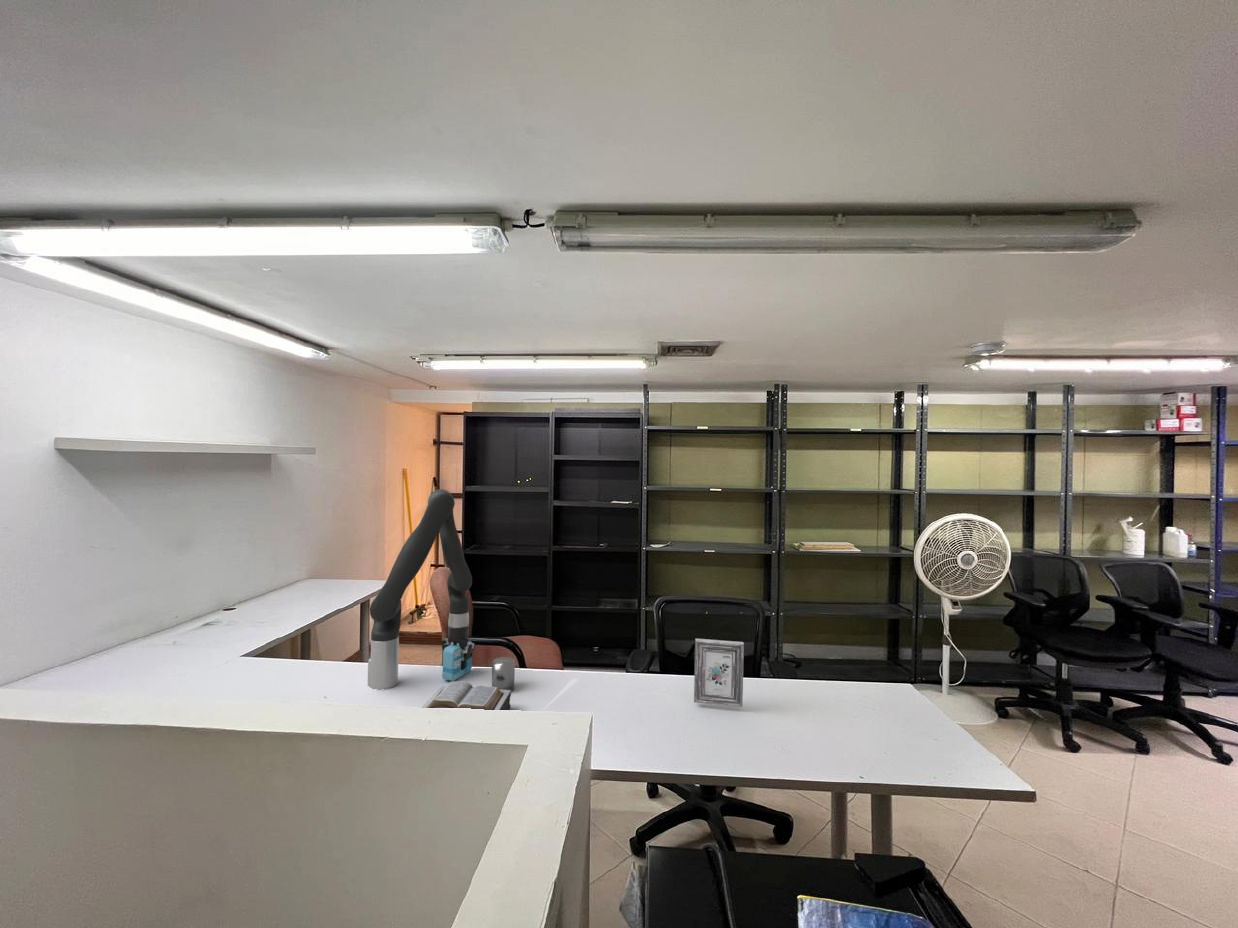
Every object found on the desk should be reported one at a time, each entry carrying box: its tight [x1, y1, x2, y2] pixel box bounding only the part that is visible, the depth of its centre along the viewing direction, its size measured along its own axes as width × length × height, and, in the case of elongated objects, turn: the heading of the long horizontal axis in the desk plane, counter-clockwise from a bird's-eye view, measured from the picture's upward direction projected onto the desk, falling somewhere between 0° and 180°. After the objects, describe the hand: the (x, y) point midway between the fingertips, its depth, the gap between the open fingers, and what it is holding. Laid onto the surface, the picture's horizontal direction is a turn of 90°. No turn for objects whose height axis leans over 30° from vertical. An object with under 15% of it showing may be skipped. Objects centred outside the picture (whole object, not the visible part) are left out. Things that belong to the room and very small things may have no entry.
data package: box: [442, 640, 473, 682], centre depth 187 cm, size 12×4×12 cm, turn 161°
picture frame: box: [693, 638, 745, 708], centre depth 170 cm, size 16×2×22 cm, turn 81°
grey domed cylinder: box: [491, 656, 516, 693], centre depth 177 cm, size 8×8×10 cm
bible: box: [421, 680, 512, 711], centre depth 155 cm, size 23×27×10 cm
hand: (457, 667), depth 187 cm, fingers closed on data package, 4 cm apart
